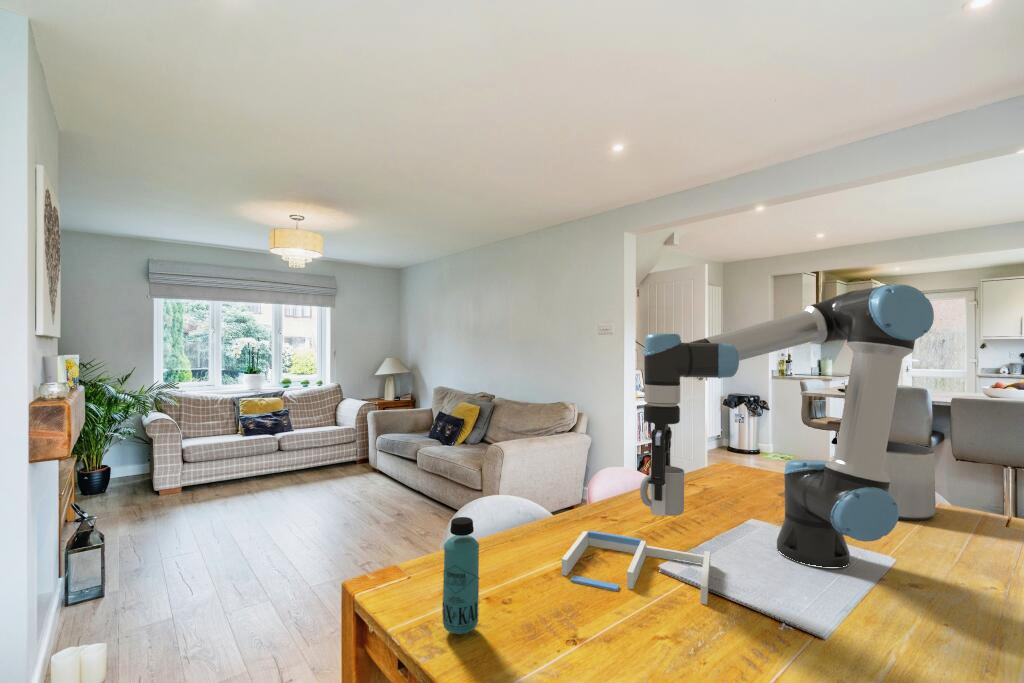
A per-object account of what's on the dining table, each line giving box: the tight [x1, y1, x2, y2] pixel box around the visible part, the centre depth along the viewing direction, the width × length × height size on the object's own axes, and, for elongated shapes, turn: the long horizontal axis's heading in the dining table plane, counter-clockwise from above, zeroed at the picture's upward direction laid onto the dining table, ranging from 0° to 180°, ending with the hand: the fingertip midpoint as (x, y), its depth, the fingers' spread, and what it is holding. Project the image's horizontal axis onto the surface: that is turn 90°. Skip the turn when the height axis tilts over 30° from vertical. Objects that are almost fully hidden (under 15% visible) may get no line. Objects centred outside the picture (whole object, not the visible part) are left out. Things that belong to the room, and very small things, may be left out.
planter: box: [883, 439, 937, 521], centre depth 152 cm, size 23×23×20 cm
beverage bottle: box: [441, 516, 480, 635], centre depth 86 cm, size 6×7×20 cm
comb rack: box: [561, 530, 711, 606], centre depth 109 cm, size 30×21×4 cm
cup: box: [639, 465, 685, 517], centre depth 105 cm, size 7×10×9 cm
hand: (660, 508), depth 106 cm, fingers closed on cup, 8 cm apart
